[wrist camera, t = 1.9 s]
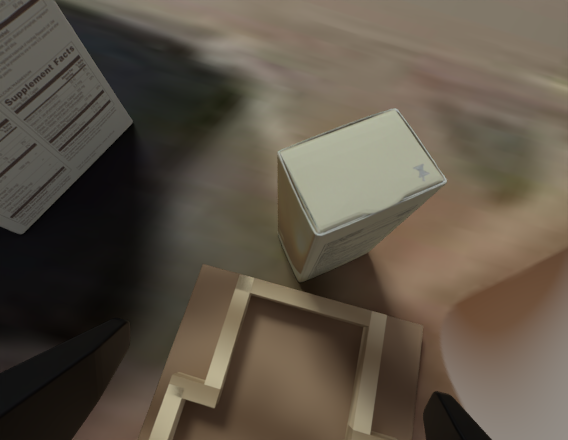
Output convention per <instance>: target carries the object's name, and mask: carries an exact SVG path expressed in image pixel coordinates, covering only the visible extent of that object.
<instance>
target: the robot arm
mask: <svg viewBox="0 0 568 440" xmlns="http://www.w3.org/2000/svg"><path fill="white" fill-rule="evenodd" d="M129 345H130V323H129V321H127V320H124V319H119V318H114V319H111V320H109V321H107V322H105V323H103V324H101V325H99V326H97V327H95V328H93V329H91V330H88V331H86V332H84V333H82V334H80V335H78V336H76V337H74V338H72V339H70V340H68V341H66V342H64V343H62V344H60V345H58V346H55V347H53V348H51V349H49V350H47V351H45V352H43V353H41V354H39V355H37V356H35V357H33V358H31V359H29V360H27V361H24V362H22V363H20V364H18V365H16V366H14V367H12V368H10V369H8V370H6V371H4V372H2V373H0V440H72V438H73V437H74V435H75V434H76V433H77V431H78V430H79V428H80V427H81V425H82V424H83V423H84V421H85V420H86V418H87V417H88V415H89V414H90V413H91V411H92V410H93V408H94V407H95V405H96V404H97V402H98V401H99V399H100V397H101V396H102V394H103V392H104V391H105V389H106V387H107V385H108V384H109V382H110V380H111V378H112V377H113V375H114V373H115V371H116V370H117V368H118V366H119V364H120V363H121V361H122V359H123V357H124V356H125V354H126V352H127V350H128V348H129ZM423 420H424V427H425V434H426V440H492V439H491V438H490V437H489V436H488V435H487V434H486V433H485V432H484V431H483V430H482V429H481V427H480V426H479V425H478V424H477V423H476V422H475V421H474V420H473V419H472V418H471V416H470V415H469V414H468V413H467V412H466V411H465V410H464V409H463V408H462V407H461V406H460V404H459V403H458V402H457V401H456V400H455V399H454V398H453V397H452V396H451V395H449V394H446V393H442V392H438V391H435V392H434V393H433V394H432V396H431V398H430V399H429V401H428V403H427V405H426V407H425V409H424V413H423Z"/></svg>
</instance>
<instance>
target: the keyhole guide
mask: <svg viewBox="0 0 568 440" xmlns="http://www.w3.org/2000/svg"><path fill="white" fill-rule="evenodd" d="M422 333H423V325H420V324H416V323H413V322H409V321H406V320H402V319H398V318H395V317H391V316H388V315H385V314H381V313H378V312H374V311H371V310H367V309H364V308H360V307H356V306H353V305H349V304H346V303H342V302H339V301H335V300H331V299H328V298H324V297H321V296H317V295H313V294H310V293H306V292H303V291H299V290H296V289H292V288H288V287H285V286H281V285H278V284H274V283H271V282H267V281H263V280H260V279H256V278H253V277H249V276H245V275H242V274H237V273H234V272H230V271H227V270H223V269H220V268H216V267H212V266H209V265H205V264H203V265H202V268H201V271H200V273H199V276H198V279H197V281H196V284H195V287H194V289H193V292H192V295H191V297H190V300H189V303H188V305H187V308H186V311H185V313H184V316H183V319H182V322H181V324H180V327H179V330H178V332H177V335H176V338H175V340H174V343H173V346H172V348H171V351H170V354H169V356H168V359H167V362H166V364H165V367H164V370H163V372H162V375H161V378H160V381H159V383H158V386H157V389H156V391H155V394H154V397H153V399H152V402H151V405H150V407H149V410H148V413H147V415H146V418H145V421H144V423H143V426H142V429H141V431H140V434H139V437H138V440H412V434H413V424H414V414H415V404H416V394H417V384H418V374H419V364H420V354H421V344H422Z"/></svg>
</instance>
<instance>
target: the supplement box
mask: <svg viewBox="0 0 568 440" xmlns="http://www.w3.org/2000/svg"><path fill="white" fill-rule="evenodd" d="M132 123H133V121H132V119H131V118H130V116H129V115H128V113H127V112H126V110H125V109H124V107H123V106H122V104H121V103H120V101H119V100H118V98H117V97H116V95H115V93H114V92H113V90H112V89H111V87H110V86H109V84H108V83H107V81H106V80H105V78H104V77H103V75H102V74H101V72H100V70H99V69H98V67H97V66H96V64H95V63H94V61H93V60H92V58H91V56H90V55H89V53H88V52H87V50H86V49H85V47H84V46H83V44H82V43H81V41H80V39H79V38H78V36H77V35H76V33H75V32H74V30H73V29H72V27H71V25H70V24H69V22H68V21H67V19H66V18H65V16H64V15H63V13H62V12H61V10H60V8H59V7H58V5H57V4H56V2H55V1H54V0H0V227H3V228H5V229H8V230H10V231H12V232H15V233H17V234H23V233H24V232H25V231H26V230H27V229H28V228H29V227H30V226H31V225H32V224H33V223H34V222H35V221H36V220H37V219H38V218H39V217H40V216H41V215H42V214H43V213H44V212H45V211H46V210H47V209H48V208H49V207H50V206H51V205H52V204H53V203H54V202H55V201H56V200H57V199H58V198H59V197H60V196H61V195H62V194H63V193H64V192H65V191H66V190H67V189H68V188H69V187H70V186H71V185H72V184H73V183H74V182H75V181H76V180H77V179H78V178H79V177H80V176H81V175H82V174H83V173H84V172H85V171H86V170H87V169H88V168H89V167H90V166H91V165H92V164H93V163H94V162H95V161H96V160H97V159H98V158H99V157H100V156H101V155H102V154H103V153H104V152H105V151H106V150H107V149H108V148H109V147H110V146H111V145H112V144H113V143H114V142H115V141H116V140H117V139H118V138H119V137H120V135H121V134H122V133H123V132H124V131H125V130H126V129H127V128H128V127H129V126H130V125H131V124H132Z"/></svg>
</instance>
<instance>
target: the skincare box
mask: <svg viewBox="0 0 568 440" xmlns="http://www.w3.org/2000/svg"><path fill="white" fill-rule="evenodd" d="M277 159H278V237H279V239H280V241H281V244H282V247H283V249H284V251H285V254H286V256H287V258H288V261H289V263H290V265H291V268H292V270H293V272H294V274H295V276H296V279H297V280H298V281H299V282H304V281H306V280H309V279H311V278H314V277H316V276H319V275H321V274H323V273H326V272H328V271H330V270H332V269H335V268H337V267H339V266H341V265H343V264H346V263H348V262H350V261H352V260H354V259H356V258H358V257H360V256H362V255H364V254H366V253H368V252H369V251H370V250H371V249H373V248H374V247H375V246H376V245H377V244H378V243H379V242H380V241H382V240H383V239H384V238H385V237H386V236H387V235H388V234H389V233H391V232H392V231H393V230H394V229H395V228H396V227H397V226H398V225H400V224H401V223H402V222H403V221H404V220H405V219H406V218H408V217H409V216H410V215H411V214H412V213H413V212H414V211H416V210H417V209H418V208H419V207H420V206H421V205H422V204H423V203H425V202H426V201H427V200H428V199H429V198H430V197H431V196H432V195H434V194H435V193H436V192H437V191H438V190H439V189H440V188H441V187H443V186H444V185H445V184H446V183H447V180H446V178H445V176H444V175H443V173H442V172H441V171H440V170H439V168H438V166H437V165H436V163H435V162H434V160H433V159H432V157H431V156H430V154H429V153H428V151H427V150H426V148H425V147H424V146H423V144H422V143H421V141H420V139H419V138H418V137H417V135H416V134H415V132H414V131H413V129H412V128H411V127H410V125H409V124H408V122H407V121H406V120H405V119H404V117H403V116H402V115H401V113H400V112H399V111H398V109H396V108H394V109H390V110H387V111H383V112H380V113H377V114H374V115H371V116H368V117H365V118H362V119H359V120H356V121H353V122H351V123H348V124H346V125H343V126H340V127H337V128H335V129H332V130H329V131H327V132H324V133H322V134H319V135H317V136H314V137H311V138H309V139H306V140H304V141H302V142H299V143H296V144H294V145H292V146H289V147H287V148H284V149H282V150H279V151H278V157H277Z"/></svg>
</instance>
